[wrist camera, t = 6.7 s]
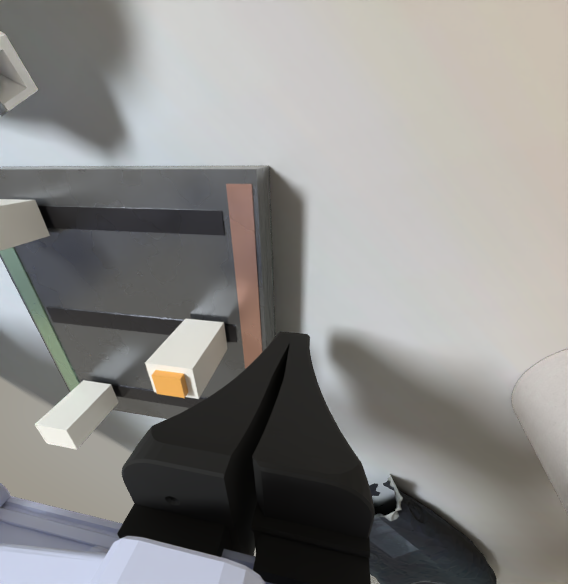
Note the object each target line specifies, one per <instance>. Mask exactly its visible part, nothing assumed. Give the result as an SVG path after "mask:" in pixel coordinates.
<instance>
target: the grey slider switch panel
mask: <svg viewBox="0 0 568 584" xmlns="http://www.w3.org/2000/svg"><path fill="white" fill-rule="evenodd" d="M0 199H20V200H36V203H37V205H38V208H39V210H40V213H41V215H42V217H43V220H44V222H45V225H46V227H47V230H48V232H49V235H50V236H48V237H44V238H41V239H38V240H34V241H31V242H28V243H25V244H21V245H18V246H15V247H12V248H8V249H5V250H2V251H0V257H1V259H2V261H3V263H4V265H5V267H6V269H7V271H8V273H9V275H10V277H11V279H12V281H13V283H14V285H15V287H16V289H17V290H18V292H19V294H20V296H21V298H22V300H23V302H24V304H25V306H26V308H27V310H28V312H29V314H30V316H31V318H32V320H33V322H34V323H35V325H36V327H37V329H38V331H39V333H40V335H41V337H42V339H43V341H44V343H45V345H46V347H47V349H48V351H49V353H50V355H51V357H52V358H53V360H54V362H55V364H56V366H57V368H58V370H59V372H60V374H61V376H62V378H63V380H64V382H65V384H66V386H67V388H68V390H69V392H71V391H72V390H73V389H74V388H75V387H76V386H78V385H79V384H80V383H81V382H82V381H83V380H85V381H92V382H99V383H105V384H111V385H112V388H113V390H114V392H115V395H116V397H117V400H118V402H119V403H118V404H117V405H116V406H115V407H114V408H113V410H117V411H123V412H129V413H135V414H141V415H147V416H153V417H159V418H165V419H169V418H171V417H173V416H175V415H178V414H180V413H182V412H184V411H185V410H187V409H189V408H191V407H193V406H195V405H196V404H198V403H200V402H202V401H203V400H205V399H207V398H208V397H210V396H211V395H213V394H214V393H216V392H217V391H218V390H220V389H221V388H223V387H224V386H225V385H227V384H228V383H229V382H231V381H232V380H233V379H234V378H236V377H237V376H238V375H239V374H240V373H242V372H243V371H244V370H245V369H246V368H247V367H248V366H249V365H250V364H251V363H252V362H253V361H254V360H255V359H256V358H257V357H258V356H259V355H260V354H261V353H262V352H263V351H264V350H265V349H266V348H267V346H268V345H269V344H270V343H271V342H272V341H273V339H274V338H275V319H274V291H273V262H272V233H271V204H270V175H269V166H42V167H0ZM185 319H195V320H206V321H216V322H224V326H225V334H226V341H227V351H226V352H225V354H224V356H223V358H222V359H221V361H220V363H219V365H218V366H217V368H216V370H215V372H214V373H213V375H212V377H211V379H210V380H209V382H208V384H207V386H206V387H205V389H204V391H203V393H202V394H201V396H200V398H199V399H196V398H189V397H185V398H180V397H174V396H167V395H161V394H157V393H156V392H154V390H153V387H152V383H151V380H150V377H149V374H148V371H147V368H146V365H145V362H146V361H147V360H148V359H149V358H150V357H151V356H152V354H153V353H154V352H155V351H156V350H157V349H158V348H159V347H160V346H161V345H162V344H163V342H164V341H165V340H166V339H167V338H168V337H169V336H170V335H171V334H172V333H173V332H174V330H175V329H176V328H177V327H178V326H179V325H180V324H181V323H182V322H183V321H184V320H185Z"/></svg>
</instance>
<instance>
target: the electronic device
mask: <svg viewBox="0 0 568 584" xmlns="http://www.w3.org/2000/svg"><path fill="white" fill-rule="evenodd" d="M383 485H384V486H386V487H388V488H389V489H392V490H394V491H395V499H396V501H397V508H396V510H395V509H392V510H395V511H394V512H392V513H390V514H388V515H386V516H385V515H383V514H376V515H374V521H373V525H372V529H371V532H370V536H369V539H370V559H369V566H370V574H371V575H372V576H374V577H376V579H377V580H378V581H379V583H380V584H496V576H495V573H494V571H493V570H492V568H491V567H490V566H489V564H488V563H487V561H486V559H485V557H484V556H483V554H482V553H481V552H480V551H479V550H478V549H477V548H476V547H475V545H474V544H473V542H472V541H470V540H469V539H468V538H467V537H466V536H465V535H464V534H462V533H461V532H459V531H458V530H456V529H455V528H454V527H452V526H451V525H449V524H448V523H447V522H446V521H445V520H444V519H442V518H441V517H439V516H438V515H436V514H435V513H434V512H433V511H431V510H430V509H428V508H426V507H425V506H423V505H422V504H420V503H418V502H416V501H415V500H414V499H413V498H412V497H410V496H408V495H405V494H404V493H402V492H401V491H399V490H398V489H397V487H396V485H395V483H394V481H393V479H392V477H391V475H390V477H389V478H388V481H387V482H386V483H383ZM377 486H378V484H372V485H370V486H369V487H370V491H371V495H372V496H379V494H380V492H377V491H376V488H377ZM382 506H383V505H382ZM379 507H380V506H379ZM376 508H377V507H376Z"/></svg>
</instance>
